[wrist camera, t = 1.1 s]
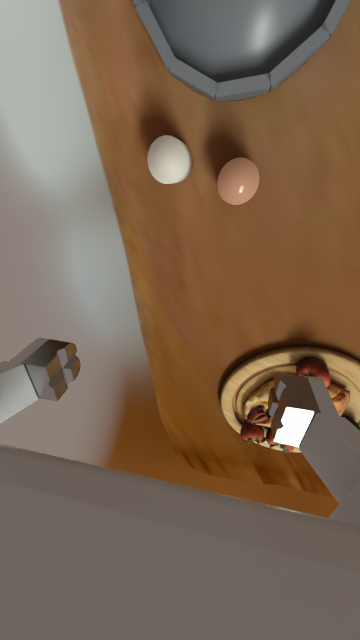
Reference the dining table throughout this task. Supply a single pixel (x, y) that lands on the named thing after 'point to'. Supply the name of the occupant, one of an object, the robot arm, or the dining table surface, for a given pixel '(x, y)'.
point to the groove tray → (238, 41)
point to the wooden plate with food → (257, 379)
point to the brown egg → (238, 181)
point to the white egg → (169, 160)
